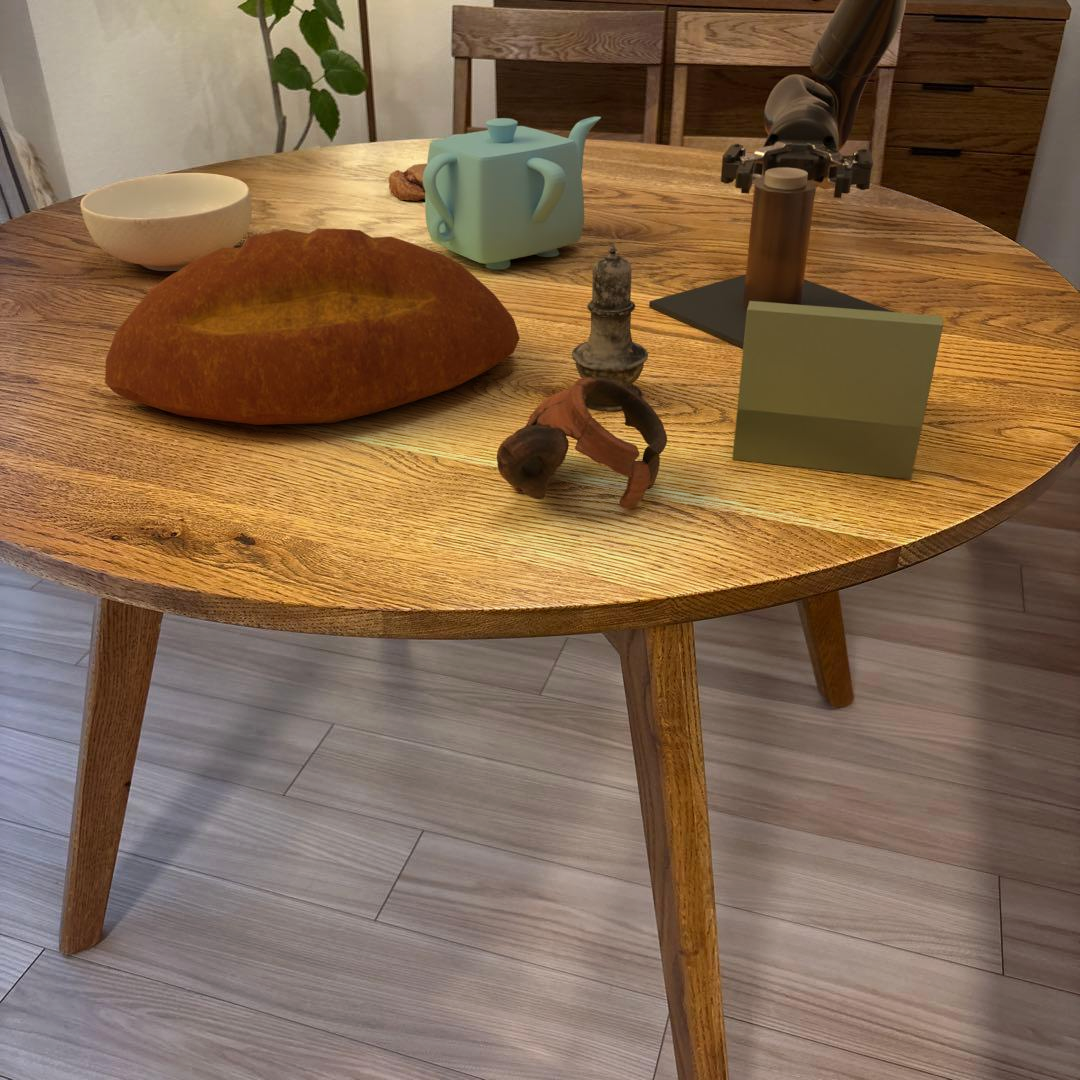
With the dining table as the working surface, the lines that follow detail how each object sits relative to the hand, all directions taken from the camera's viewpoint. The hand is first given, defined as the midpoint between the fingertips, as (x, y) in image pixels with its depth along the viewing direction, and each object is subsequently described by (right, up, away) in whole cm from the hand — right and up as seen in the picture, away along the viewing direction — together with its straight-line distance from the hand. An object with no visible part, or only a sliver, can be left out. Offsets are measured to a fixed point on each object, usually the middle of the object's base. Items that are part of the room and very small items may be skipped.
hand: (792, 184), depth 97 cm
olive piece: (-3, -25, -21) cm, 33 cm away
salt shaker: (-18, -22, -15) cm, 32 cm away
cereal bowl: (-62, -3, +15) cm, 64 cm away
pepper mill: (-2, -12, -1) cm, 12 cm away
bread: (-41, -20, -12) cm, 48 cm away
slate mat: (-2, -12, -1) cm, 12 cm away
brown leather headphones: (-21, -30, -27) cm, 46 cm away
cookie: (-38, +11, +36) cm, 53 cm away
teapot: (-26, -2, +16) cm, 31 cm away
